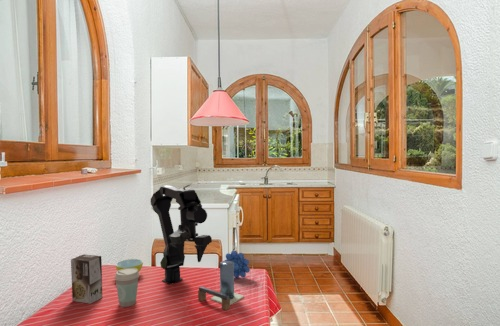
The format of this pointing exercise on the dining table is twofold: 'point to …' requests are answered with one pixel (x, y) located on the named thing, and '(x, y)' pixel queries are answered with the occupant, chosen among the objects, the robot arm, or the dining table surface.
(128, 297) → the coffee cup
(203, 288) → the bar
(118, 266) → the bowl
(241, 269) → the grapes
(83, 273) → the coffee box
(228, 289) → the canister
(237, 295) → the mat
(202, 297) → the posts
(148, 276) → the dining table surface
